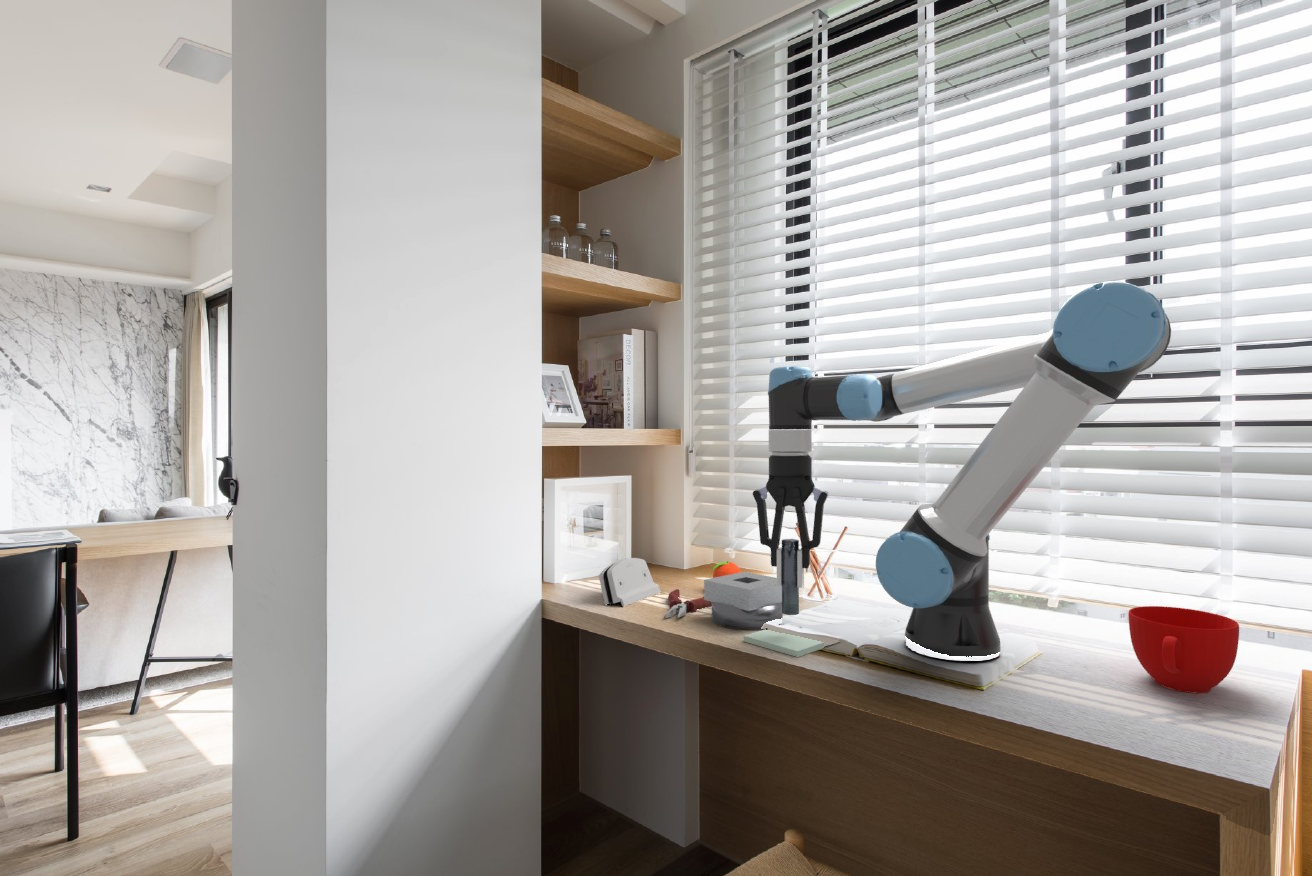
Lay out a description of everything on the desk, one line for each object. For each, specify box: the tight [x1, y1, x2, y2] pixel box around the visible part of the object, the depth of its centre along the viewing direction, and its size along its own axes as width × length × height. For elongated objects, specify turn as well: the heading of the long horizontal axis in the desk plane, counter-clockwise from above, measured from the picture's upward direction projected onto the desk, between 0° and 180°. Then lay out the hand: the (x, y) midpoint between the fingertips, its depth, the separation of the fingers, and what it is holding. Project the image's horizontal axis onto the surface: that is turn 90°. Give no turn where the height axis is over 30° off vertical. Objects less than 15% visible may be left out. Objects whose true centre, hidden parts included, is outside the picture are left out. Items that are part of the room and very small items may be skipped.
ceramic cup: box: [1127, 605, 1240, 694], centre depth 101 cm, size 13×17×10 cm
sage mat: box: [743, 629, 825, 658], centre depth 125 cm, size 12×12×1 cm
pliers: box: [663, 588, 712, 619], centre depth 149 cm, size 12×20×3 cm, turn 161°
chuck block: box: [703, 571, 784, 631], centre depth 139 cm, size 14×14×8 cm
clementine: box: [710, 561, 742, 578], centre depth 164 cm, size 8×7×7 cm
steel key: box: [781, 538, 800, 616], centre depth 125 cm, size 6×3×13 cm, turn 161°
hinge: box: [598, 557, 662, 607], centre depth 159 cm, size 17×5×10 cm, turn 150°
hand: (790, 585), depth 125 cm, fingers closed on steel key, 3 cm apart
